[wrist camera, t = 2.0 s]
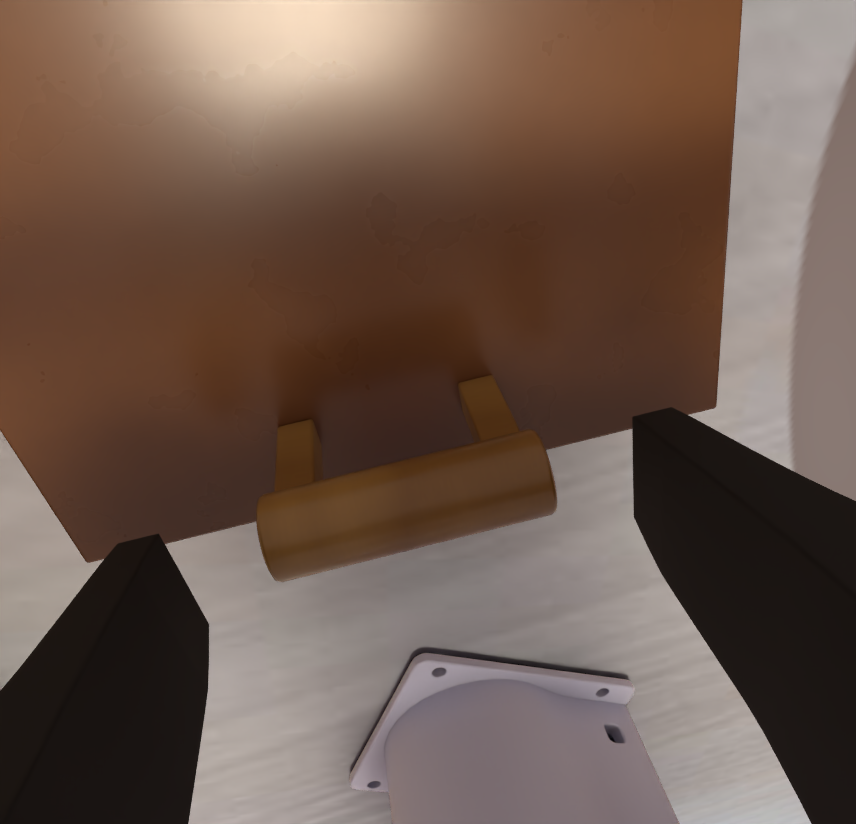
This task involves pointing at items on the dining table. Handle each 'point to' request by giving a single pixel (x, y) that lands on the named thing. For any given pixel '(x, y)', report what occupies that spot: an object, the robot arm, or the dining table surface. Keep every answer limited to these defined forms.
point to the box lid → (351, 257)
